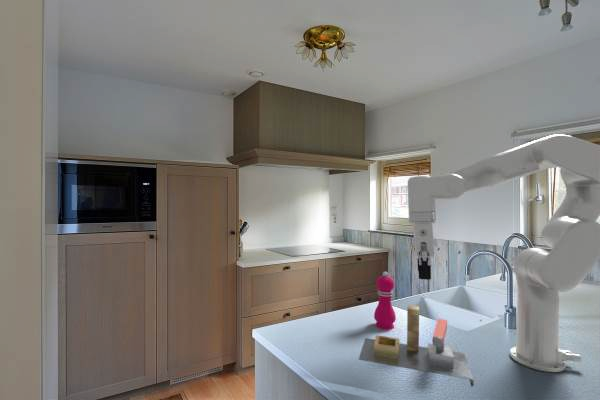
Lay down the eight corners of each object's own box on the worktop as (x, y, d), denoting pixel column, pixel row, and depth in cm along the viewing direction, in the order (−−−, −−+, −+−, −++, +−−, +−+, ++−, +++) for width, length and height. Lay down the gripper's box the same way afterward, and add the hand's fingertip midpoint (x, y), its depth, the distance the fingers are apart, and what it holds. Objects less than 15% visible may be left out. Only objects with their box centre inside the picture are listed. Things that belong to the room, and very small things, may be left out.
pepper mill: (396, 334, 106) (397, 274, 105) (374, 332, 107) (375, 273, 107) (394, 326, 113) (395, 270, 112) (373, 324, 114) (374, 268, 114)
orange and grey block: (437, 338, 93) (437, 317, 93) (447, 340, 92) (447, 319, 92) (431, 362, 80) (431, 337, 80) (442, 365, 79) (443, 339, 79)
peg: (418, 346, 95) (418, 306, 94) (418, 351, 92) (419, 310, 91) (407, 345, 96) (407, 305, 96) (406, 349, 93) (407, 308, 92)
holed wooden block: (399, 348, 93) (399, 338, 93) (398, 359, 87) (398, 348, 87) (376, 345, 95) (376, 335, 95) (373, 355, 89) (374, 344, 89)
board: (464, 357, 91) (464, 342, 91) (473, 384, 78) (473, 367, 78) (365, 341, 100) (365, 328, 100) (358, 363, 87) (358, 348, 87)
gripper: (438, 219, 85) (440, 283, 85) (433, 215, 101) (435, 269, 102) (408, 220, 88) (411, 281, 88) (408, 216, 104) (410, 268, 104)
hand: (424, 275), depth 95 cm, fingers open, 9 cm apart
